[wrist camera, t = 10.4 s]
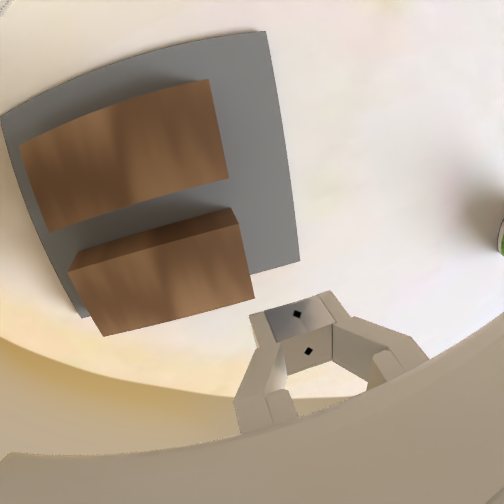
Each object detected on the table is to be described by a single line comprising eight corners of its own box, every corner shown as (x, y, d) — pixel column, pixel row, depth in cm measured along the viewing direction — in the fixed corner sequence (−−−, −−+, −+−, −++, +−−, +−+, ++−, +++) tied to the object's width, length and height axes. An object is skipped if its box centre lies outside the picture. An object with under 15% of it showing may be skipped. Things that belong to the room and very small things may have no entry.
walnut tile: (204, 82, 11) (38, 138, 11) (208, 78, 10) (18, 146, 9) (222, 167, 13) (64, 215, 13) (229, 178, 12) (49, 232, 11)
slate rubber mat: (3, 116, 10) (-1, 116, 9) (263, 32, 11) (265, 30, 11) (82, 314, 16) (81, 318, 15) (297, 257, 17) (300, 260, 17)
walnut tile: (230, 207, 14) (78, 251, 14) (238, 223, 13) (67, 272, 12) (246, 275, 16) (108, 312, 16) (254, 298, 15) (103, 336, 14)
